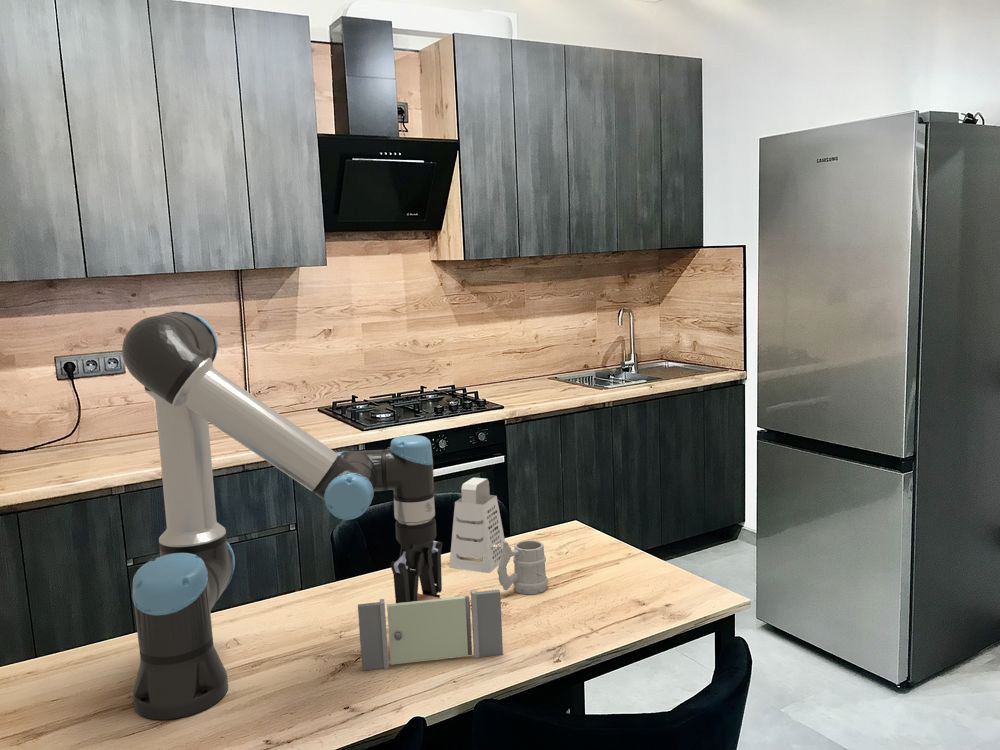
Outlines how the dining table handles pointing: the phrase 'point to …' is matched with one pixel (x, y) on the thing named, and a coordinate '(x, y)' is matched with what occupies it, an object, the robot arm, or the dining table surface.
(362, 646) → the frame
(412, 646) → the door
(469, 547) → the grater
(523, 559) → the mug
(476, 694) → the dining table surface
